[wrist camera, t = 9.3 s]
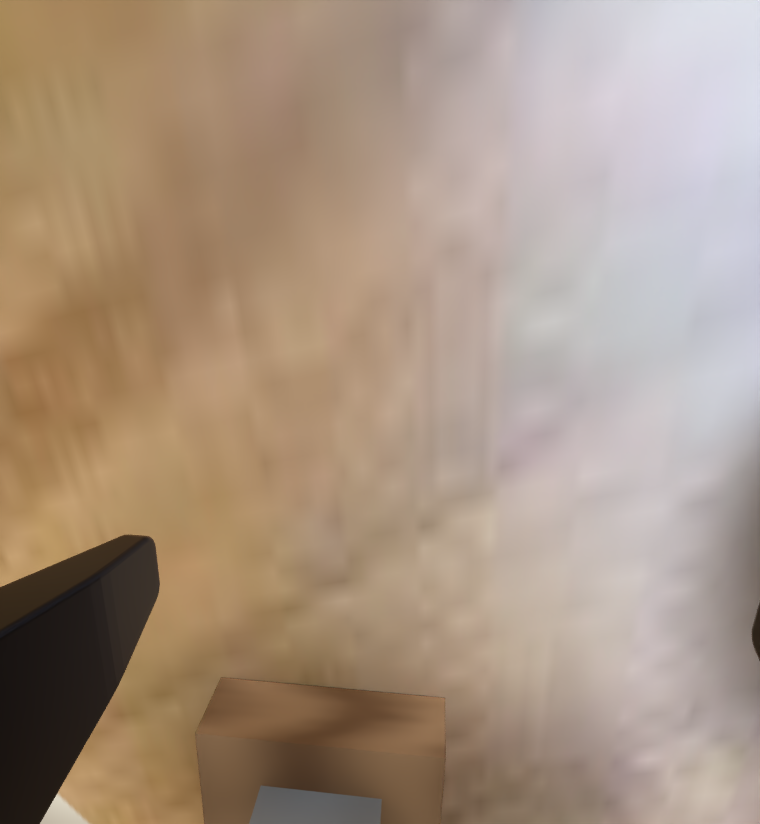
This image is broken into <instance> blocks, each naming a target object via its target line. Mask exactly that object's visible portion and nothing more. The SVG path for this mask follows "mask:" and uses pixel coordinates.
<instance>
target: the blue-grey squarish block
mask: <svg viewBox="0 0 760 824" xmlns="http://www.w3.org/2000/svg"><path fill="white" fill-rule="evenodd" d="M381 804H382V799H377V798H368V797H359V796H350V795H341V794H332V793H323V792H314V791H305V790H296V789H287V788H278V787H269V786H260V790H259V793H258V796H257V799H256V803H255V806H254V809H253V813H252V816H251V819H250V822H249V824H381Z"/></svg>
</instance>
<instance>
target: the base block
mask: <svg viewBox="0 0 760 824" xmlns="http://www.w3.org/2000/svg"><path fill="white" fill-rule="evenodd" d="M195 736H196V745H197V755H198V765H199V775H200V784H201V794H202V804H203V814H204V824H249V822H250V819H251V816H252V813H253V809H254V806H255V803H256V799H257V796H258V793H259V790H260V786H269V787H278V788H287V789H296V790H305V791H314V792H323V793H332V794H341V795H350V796H359V797H368V798H377V799H382V804H381V824H440V821H441V809H442V797H443V785H444V772H445V760H446V746H445V698H439V697H428V696H417V695H406V694H395V693H384V692H373V691H363V690H352V689H341V688H330V687H319V686H308V685H297V684H286V683H275V682H264V681H253V680H242V679H231V678H221V679H220V681H219V683H218V685H217V687H216V689H215V692H214V694H213V696H212V698H211V700H210V702H209V705H208V707H207V709H206V711H205V713H204V716H203V718H202V720H201V722H200V724H199V726H198V729H197V731H196V733H195Z"/></svg>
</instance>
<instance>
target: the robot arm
mask: <svg viewBox="0 0 760 824" xmlns="http://www.w3.org/2000/svg"><path fill="white" fill-rule="evenodd" d="M159 585H160V582H159V572H158V564H157V555H156V547H155V543H154V541H153V539H152V538H151V537H149V536H141V535H123V536H120V537H118V538H116V539H113V540H111V541H109V542H106V543H104V544H102V545H99V546H97V547H94V548H92V549H90V550H87V551H85V552H83V553H80V554H78V555H76V556H73V557H71V558H68V559H66V560H64V561H61V562H59V563H57V564H54V565H52V566H50V567H47V568H45V569H42V570H40V571H38V572H35V573H33V574H31V575H28V576H26V577H24V578H21V579H19V580H16V581H14V582H12V583H9V584H7V585H5V586H2V587H0V824H40V822H41V821H42V819H43V817H44V815H45V814H46V812H47V810H48V808H49V807H50V805H51V803H52V801H53V800H54V798H55V796H56V794H57V793H58V791H59V789H60V787H61V786H62V784H63V782H64V780H65V779H66V777H67V775H68V773H69V772H70V770H71V768H72V766H73V765H74V763H75V761H76V759H77V758H78V756H79V754H80V752H81V751H82V749H83V747H84V745H85V744H86V742H87V740H88V738H89V737H90V735H91V733H92V731H93V730H94V728H95V726H96V724H97V723H98V721H99V719H100V717H101V716H102V714H103V712H104V710H105V709H106V707H107V705H108V703H109V702H110V700H111V698H112V696H113V694H114V692H115V691H116V689H117V687H118V685H119V683H120V681H121V678H122V676H123V674H124V672H125V670H126V668H127V665H128V663H129V661H130V659H131V656H132V654H133V652H134V649H135V647H136V645H137V643H138V640H139V638H140V636H141V634H142V631H143V629H144V627H145V624H146V622H147V620H148V618H149V615H150V613H151V611H152V609H153V606H154V604H155V602H156V599H157V597H158V593H159ZM752 641H753V645H754V648H755V651H756V653H757V656H758V658H759V660H760V602H759V606H758V609H757V613H756V617H755V620H754V624H753V628H752Z"/></svg>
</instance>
